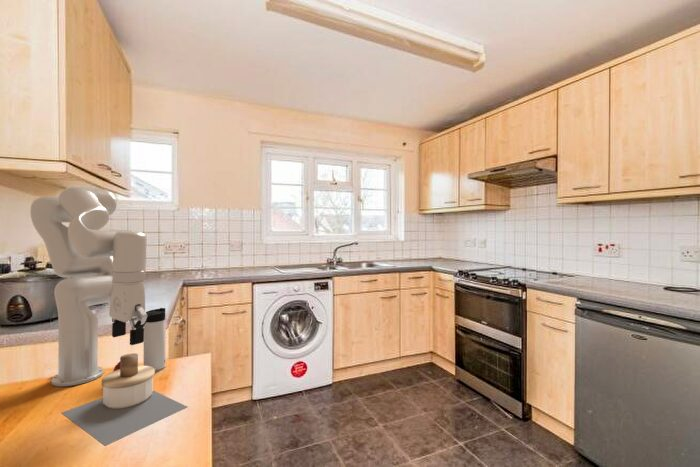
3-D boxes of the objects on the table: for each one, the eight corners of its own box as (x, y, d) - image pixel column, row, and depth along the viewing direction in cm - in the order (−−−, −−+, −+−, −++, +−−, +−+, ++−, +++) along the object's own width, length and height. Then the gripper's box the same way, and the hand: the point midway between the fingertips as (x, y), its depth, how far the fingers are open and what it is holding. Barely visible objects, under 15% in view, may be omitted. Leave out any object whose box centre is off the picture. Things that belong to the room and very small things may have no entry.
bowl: (96, 401, 89) (96, 380, 89) (140, 385, 98) (140, 366, 98) (115, 413, 83) (116, 391, 83) (160, 395, 92) (160, 375, 92)
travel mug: (170, 367, 112) (170, 308, 112) (153, 375, 106) (153, 313, 106) (156, 365, 114) (156, 307, 114) (138, 372, 108) (139, 311, 108)
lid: (93, 381, 88) (93, 358, 88) (141, 365, 99) (141, 345, 99) (114, 392, 82) (114, 368, 82) (163, 375, 92) (163, 353, 92)
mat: (61, 415, 83) (61, 412, 83) (140, 386, 99) (140, 384, 99) (105, 448, 70) (105, 445, 70) (187, 409, 86) (187, 406, 86)
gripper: (98, 275, 92) (97, 336, 92) (130, 282, 83) (128, 351, 83) (128, 272, 98) (127, 330, 98) (160, 279, 89) (158, 342, 89)
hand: (127, 339), depth 91 cm, fingers open, 9 cm apart
